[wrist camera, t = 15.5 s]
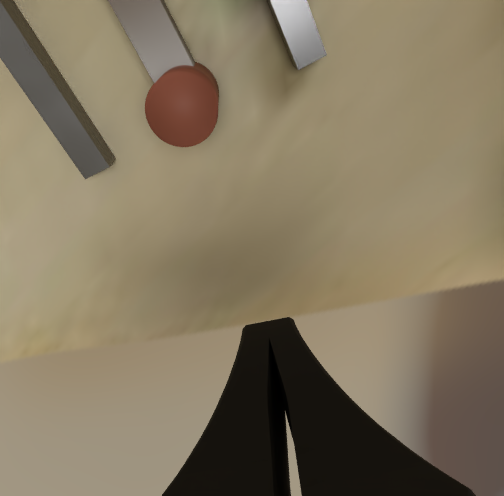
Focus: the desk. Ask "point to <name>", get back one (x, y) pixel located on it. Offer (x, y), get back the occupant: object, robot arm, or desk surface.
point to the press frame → (68, 107)
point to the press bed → (170, 74)
